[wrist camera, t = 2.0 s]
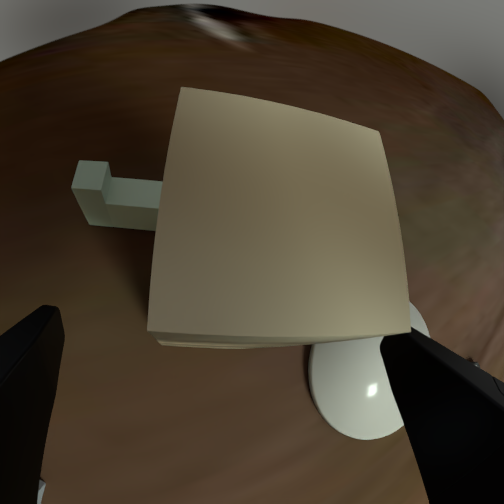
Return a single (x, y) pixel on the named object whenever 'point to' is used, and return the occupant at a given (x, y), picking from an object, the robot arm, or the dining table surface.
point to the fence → (115, 197)
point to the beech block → (274, 229)
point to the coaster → (356, 385)
